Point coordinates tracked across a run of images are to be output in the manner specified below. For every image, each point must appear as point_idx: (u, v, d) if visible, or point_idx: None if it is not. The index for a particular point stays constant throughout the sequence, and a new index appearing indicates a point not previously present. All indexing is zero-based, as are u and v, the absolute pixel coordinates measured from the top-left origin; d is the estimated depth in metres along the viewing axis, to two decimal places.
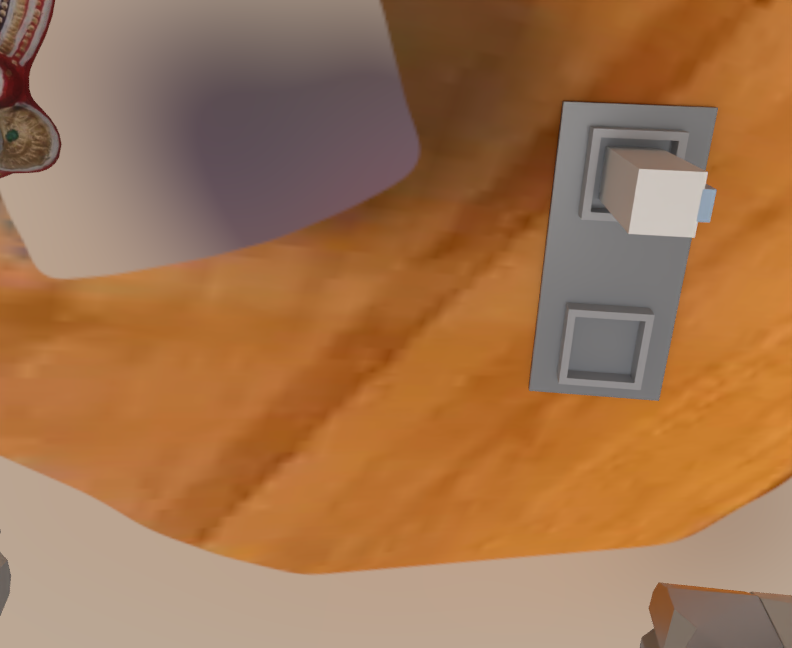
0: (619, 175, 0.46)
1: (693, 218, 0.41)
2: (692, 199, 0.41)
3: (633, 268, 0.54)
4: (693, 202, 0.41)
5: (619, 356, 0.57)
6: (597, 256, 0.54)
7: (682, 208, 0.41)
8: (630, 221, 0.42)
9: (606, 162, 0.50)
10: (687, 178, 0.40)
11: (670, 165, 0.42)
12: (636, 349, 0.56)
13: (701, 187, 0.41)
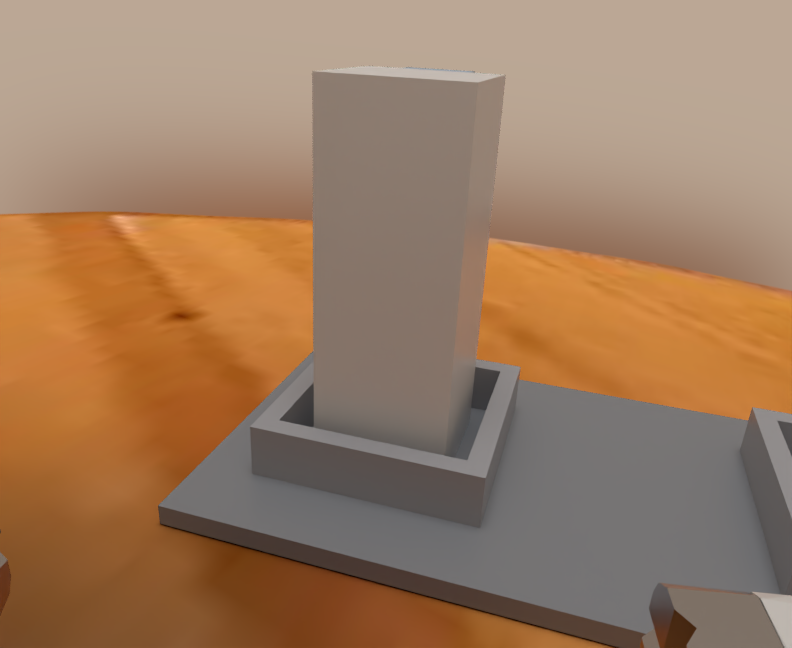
0: (356, 277, 0.18)
1: (461, 72, 0.19)
2: (418, 70, 0.19)
3: (637, 459, 0.21)
4: (425, 70, 0.19)
5: None
6: (609, 511, 0.19)
7: (433, 72, 0.18)
8: (444, 83, 0.15)
9: None
10: (369, 68, 0.18)
11: None
12: None
13: (396, 68, 0.19)
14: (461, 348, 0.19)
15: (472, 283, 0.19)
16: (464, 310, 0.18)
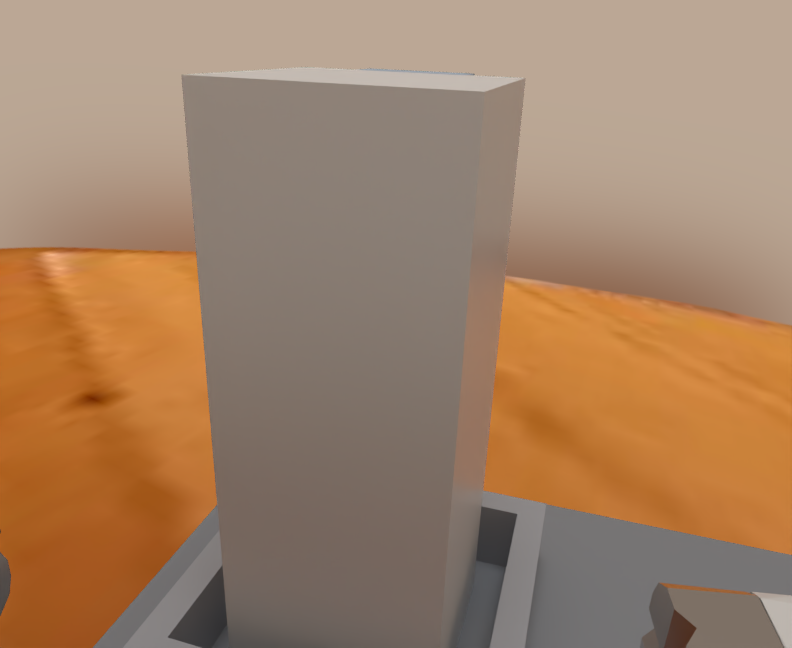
0: (280, 423, 0.10)
1: (452, 75, 0.11)
2: (382, 72, 0.11)
3: None
4: (394, 72, 0.11)
5: None
6: None
7: (407, 75, 0.11)
8: (420, 94, 0.08)
9: None
10: (302, 69, 0.11)
11: None
12: None
13: (349, 69, 0.12)
14: (459, 524, 0.12)
15: (476, 417, 0.12)
16: (464, 469, 0.11)
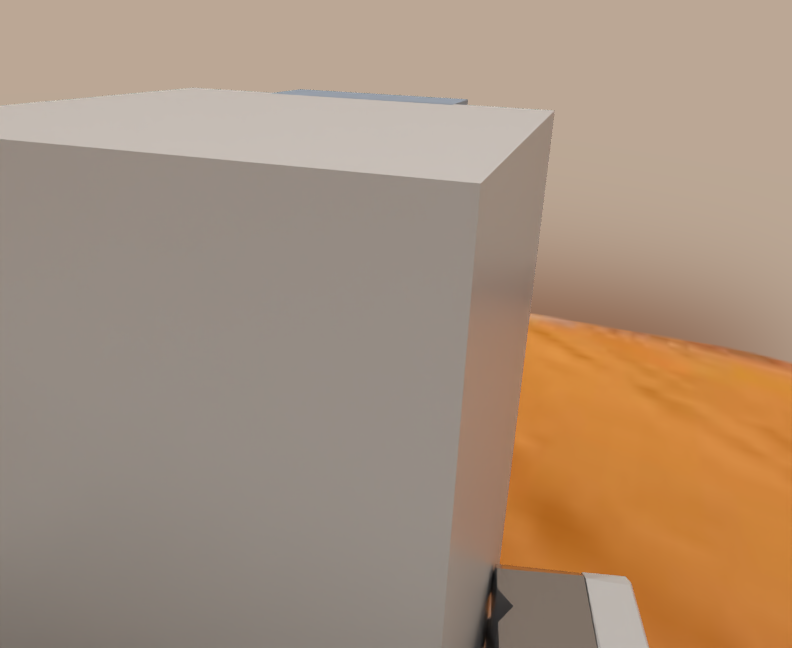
0: None
1: (428, 105, 0.07)
2: (308, 100, 0.07)
3: None
4: (328, 100, 0.07)
5: None
6: None
7: (344, 108, 0.06)
8: (322, 183, 0.03)
9: None
10: (167, 96, 0.06)
11: None
12: None
13: (258, 93, 0.07)
14: None
15: None
16: None
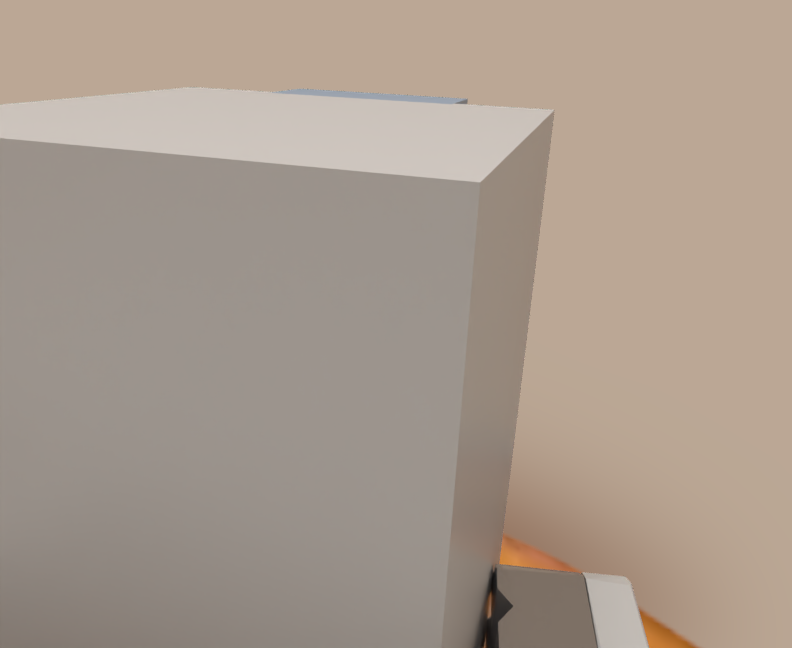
0: None
1: (428, 104, 0.07)
2: (308, 99, 0.07)
3: None
4: (328, 99, 0.07)
5: None
6: None
7: (344, 107, 0.06)
8: (322, 182, 0.03)
9: None
10: (167, 95, 0.06)
11: None
12: None
13: (257, 92, 0.07)
14: None
15: None
16: None
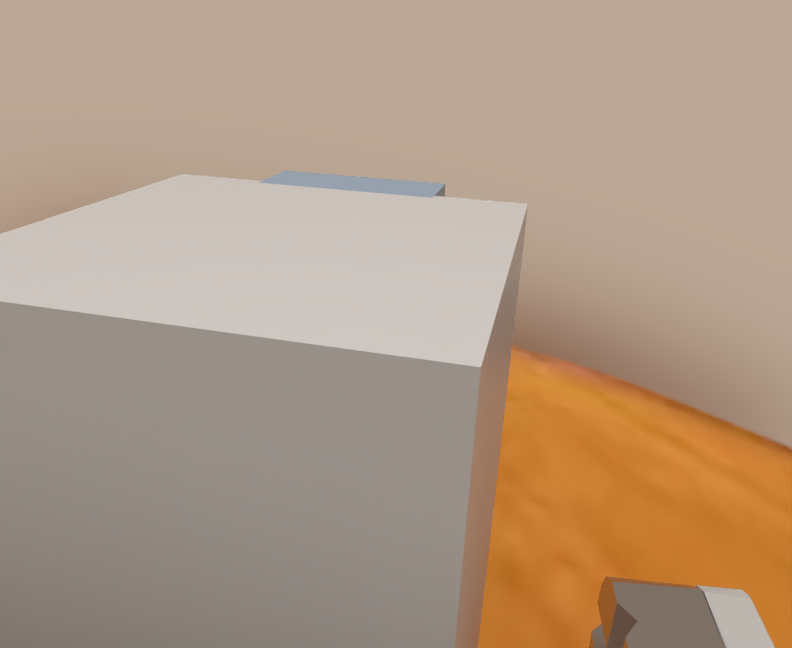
0: None
1: (411, 199, 0.07)
2: (297, 196, 0.07)
3: None
4: (316, 195, 0.07)
5: None
6: None
7: (334, 211, 0.06)
8: (340, 358, 0.04)
9: None
10: (163, 196, 0.07)
11: None
12: None
13: (247, 183, 0.08)
14: None
15: None
16: None
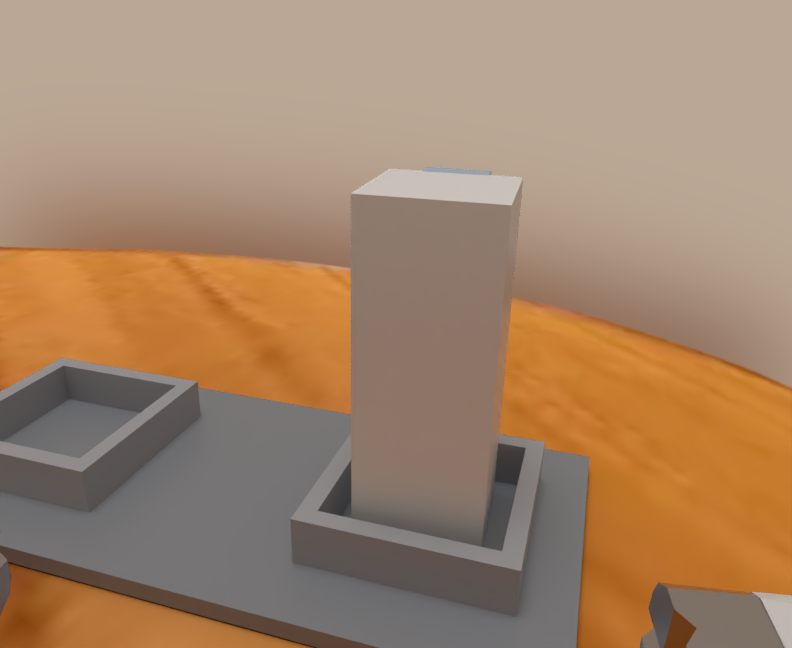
0: (394, 379, 0.19)
1: (481, 176, 0.20)
2: (440, 175, 0.20)
3: (269, 456, 0.25)
4: (447, 175, 0.20)
5: None
6: (208, 498, 0.23)
7: (456, 179, 0.19)
8: (479, 205, 0.16)
9: (386, 524, 0.20)
10: (394, 175, 0.19)
11: None
12: None
13: (418, 171, 0.20)
14: (493, 437, 0.20)
15: (500, 374, 0.20)
16: (496, 403, 0.19)
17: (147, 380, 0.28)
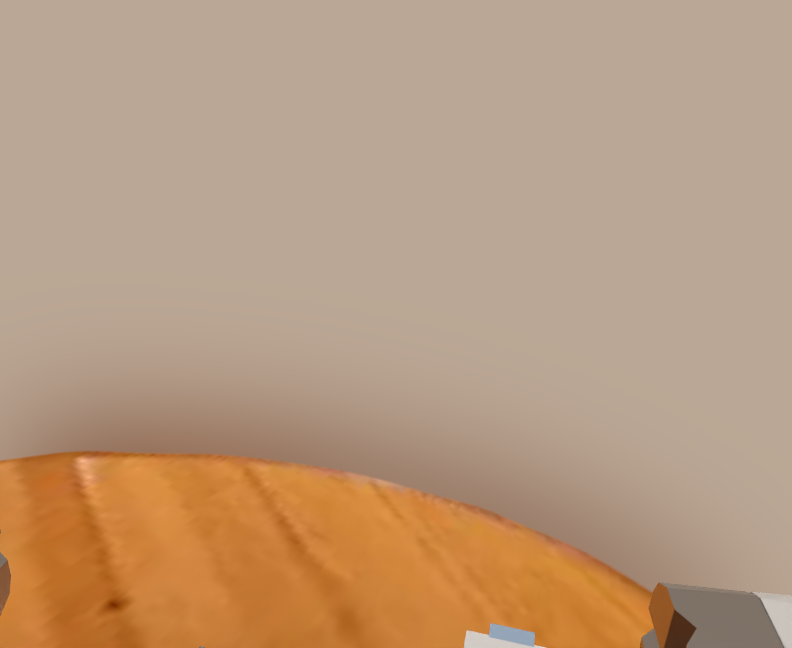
0: None
1: None
2: None
3: None
4: None
5: None
6: None
7: None
8: None
9: None
10: None
11: None
12: None
13: (486, 638, 0.30)
14: None
15: None
16: None
17: None
